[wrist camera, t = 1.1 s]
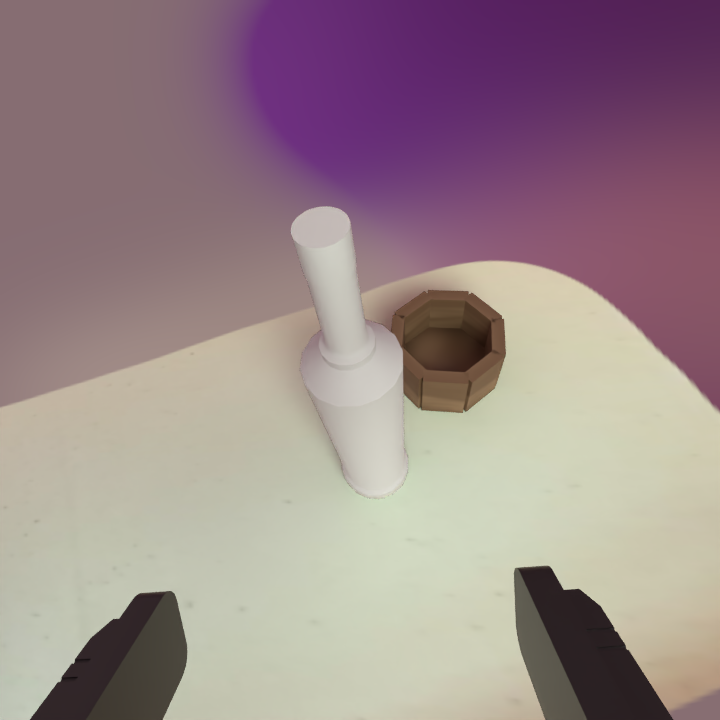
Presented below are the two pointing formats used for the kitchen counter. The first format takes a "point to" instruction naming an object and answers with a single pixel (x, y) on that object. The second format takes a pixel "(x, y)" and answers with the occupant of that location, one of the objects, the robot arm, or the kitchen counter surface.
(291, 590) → the kitchen counter surface
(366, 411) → the bottle
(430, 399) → the wooden cup
